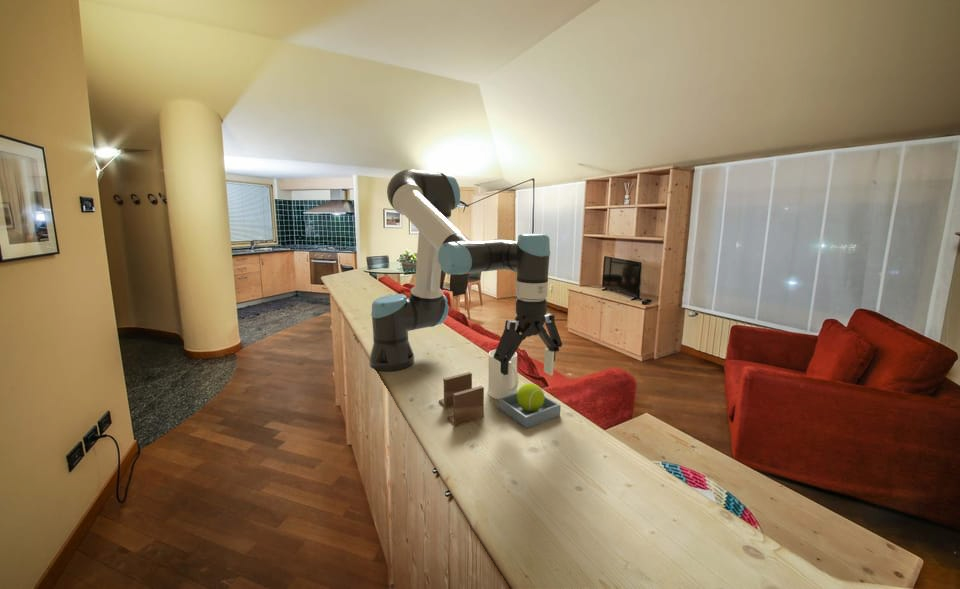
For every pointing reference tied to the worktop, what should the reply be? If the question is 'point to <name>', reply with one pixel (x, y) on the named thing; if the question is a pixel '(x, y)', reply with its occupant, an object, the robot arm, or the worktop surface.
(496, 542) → the worktop surface
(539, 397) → the tennis ball
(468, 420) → the bookend
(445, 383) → the bookend
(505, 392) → the mug
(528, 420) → the dish
